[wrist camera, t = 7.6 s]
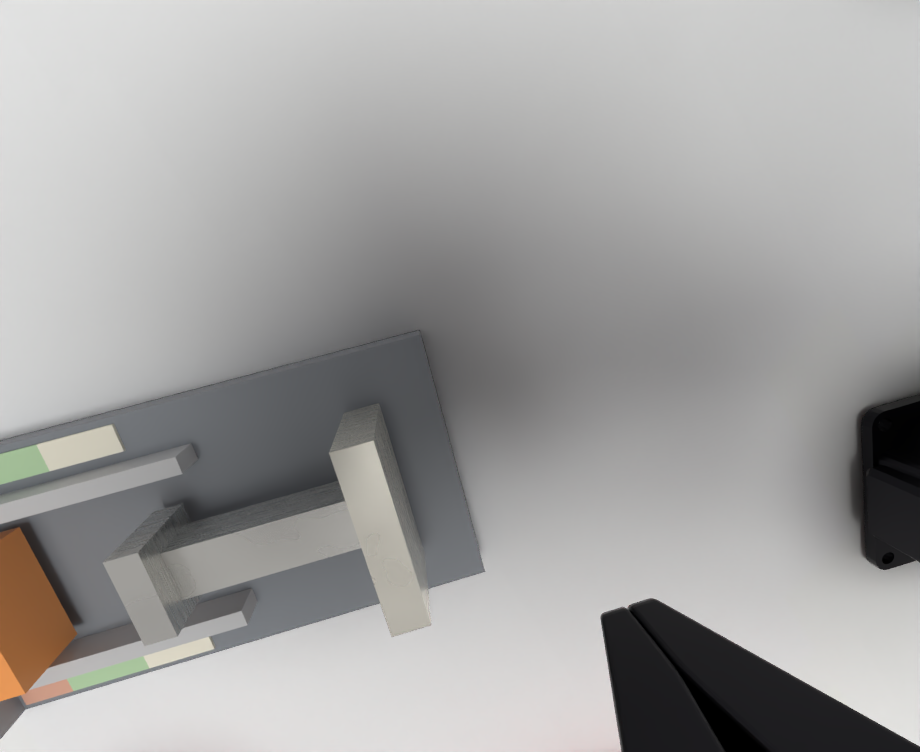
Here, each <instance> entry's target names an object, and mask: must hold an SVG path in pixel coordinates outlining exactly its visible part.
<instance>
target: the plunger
mask: <svg viewBox="0 0 920 752" xmlns="http://www.w3.org/2000/svg"><path fill="white" fill-rule="evenodd" d="M329 455H330V458H331V460H332V463H333V466H334V469H335V472H336V475H337V478H338V481H336V482H333V483H329V484H326V485H322V486H319V487H315V488H311V489H308V490H304V491H301V492H297V493H294V494H290V495H287V496H283V497H279V498H276V499H272V500H269V501H265V502H262V503H258V504H255V505H251V506H248V507H244V508H240V509H237V510H233V511H230V512H226V513H223V514H219V515H216V516H212V517H208V518H205V519H201V520H198V521H194V522H191V521H190V518H189V516H188V514H187V512H186V509H185V507H184V505H183V503H181V504H178V505H174V506H170V507H167V508H163V509H160V510H156V511H154V512H153V513H152V514H151V515H150V516H149V517H148V518H147V519H146V520H145V521H144V522H143V523H142V524H141V525H140V526H139V527H138V528H137V529H136V530H135V531H134V532H133V533H132V534H131V535H130V536H129V537H128V538H127V539H126V540H125V541H124V542H123V543H122V544H121V545H120V546H119V547H118V548H117V549H116V550H115V551H114V552H113V553H112V554H111V555H110V556H109V557H108V558H107V559H106V560H105V561H104V562H103V565H104V567H105V569H106V570H107V572H108V574H109V576H110V578H111V580H112V582H113V584H114V586H115V588H116V590H117V592H118V594H119V596H120V598H121V600H122V602H123V604H124V606H125V608H126V610H127V612H128V614H129V616H130V618H131V620H132V622H133V624H134V626H135V628H136V630H137V632H138V634H139V636H140V638H141V640H142V642H143V644H144V646H147V645H151V644H154V643H157V642H161V641H164V640H167V639H171V638H174V637H178V635H179V633H180V632H181V630H182V628H183V627H184V625H185V623H186V622H187V620H188V618H189V617H190V615H191V613H192V611H193V610H194V608H195V606H196V605H197V603H198V601H199V600H200V598H201V596H202V595H203V594H205V593H209V592H212V591H215V590H219V589H222V588H226V587H229V586H233V585H236V584H239V583H243V582H246V581H250V580H253V579H257V578H260V577H263V576H267V575H270V574H274V573H277V572H281V571H284V570H287V569H291V568H294V567H298V566H301V565H305V564H308V563H311V562H315V561H318V560H322V559H325V558H329V557H332V556H335V555H339V554H342V553H346V552H349V551H353V550H356V549H359V548H362V551H363V554H364V557H365V560H366V563H367V566H368V569H369V572H370V575H371V578H372V581H373V584H374V587H375V589H376V592H377V595H378V598H379V601H380V604H381V607H382V610H383V613H384V616H385V619H386V622H387V625H388V628H389V631H390V633H391V636H392V637H394V636H397V635H400V634H403V633H407V632H410V631H413V630H417V629H420V628H423V627H426V626H430V625H431V616H430V605H429V595H428V584H427V573H426V562H425V553H424V550H423V546H422V543H421V540H420V537H419V533H418V530H417V527H416V523H415V520H414V517H413V514H412V510H411V507H410V504H409V500H408V497H407V494H406V490H405V487H404V484H403V481H402V477H401V474H400V471H399V467H398V464H397V461H396V458H395V454H394V451H393V448H392V444H391V441H390V438H389V434H388V431H387V428H386V425H385V421H384V418H383V415H382V411H381V408H380V405H379V403H377V404H373V405H370V406H366V407H362V408H359V409H355V410H351V411H348V412H344V414H343V417H342V419H341V422H340V425H339V427H338V430H337V433H336V436H335V438H334V441H333V444H332V446H331V449H330V452H329Z"/></svg>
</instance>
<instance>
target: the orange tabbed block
mask: <svg viewBox="0 0 920 752" xmlns="http://www.w3.org/2000/svg"><path fill="white" fill-rule="evenodd" d="M76 635H77V632H76V630H75V629H74V627H73V625H72V623H71V621H70V619H69V618H68V616H67V614H66V612H65V610H64V608H63V606H62V605H61V603H60V601H59V599H58V597H57V595H56V594H55V592H54V590H53V588H52V586H51V584H50V582H49V581H48V579H47V577H46V575H45V573H44V571H43V570H42V568H41V566H40V564H39V562H38V560H37V558H36V557H35V555H34V553H33V551H32V549H31V547H30V545H29V544H28V542H27V540H26V538H25V536H24V534H23V533H22V531H21V529H20V527H17V528H14V529H10V530H6V531H3V532H0V701H3V700H6V699H10V698H13V697H16V696H20V695H23V694H26V693H27V691H28V690H29V689H30V688H31V687H32V686H33V685H34V683H35V682H36V681H37V680H38V679H39V678H40V677H41V675H42V674H43V673H44V672H45V671H46V670H47V669H48V667H49V666H50V665H51V664H52V663H53V662H54V660H55V659H56V658H57V657H58V656H59V655H60V654H61V652H62V651H63V650H64V649H65V648H66V647H67V646H68V644H69V643H70V642H71V641H72V640H73V639H74V637H75V636H76Z"/></svg>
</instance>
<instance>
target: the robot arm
mask: <svg viewBox="0 0 920 752" xmlns="http://www.w3.org/2000/svg"><path fill="white" fill-rule="evenodd" d="M879 422H880V423H879ZM861 430H862V458H863V486H864V514H865V542H866V558H867V560H868V561H869V562H870V563H871V564H873V565H875V566H876V567H878V568H879V569H882V570H887V569H891V568H894V567H897V566H900V565H903V564H907V563H910V562H913V561H918V562H920V394H919V395H916V396H913V397H909V398H906V399H902V400H899V401H896V402H892V403H889V404H885V405H882V406H878V407H875V408H872V409H870V410H869V411H868V412H867V413H866V414H865V415H864V417H863V419H862V423H861ZM601 624H602V631H603V637H604V643H605V650H606V656H607V662H608V669H609V675H610V681H611V688H612V694H613V701H614V707H615V713H616V720H617V726H618V732H619V739H620V745H621V752H920V747H919V746H918V745H916V744H914V743H912V742H910V741H909V740H907V739H905V738H903V737H901V736H900V735H898V734H896V733H894V732H893V731H891V730H889V729H887V728H885V727H884V726H882V725H880V724H878V723H876V722H875V721H873V720H871V719H869V718H868V717H866V716H864V715H862V714H860V713H859V712H857V711H855V710H853V709H851V708H850V707H848V706H846V705H844V704H843V703H841V702H839V701H837V700H835V699H834V698H832V697H830V696H828V695H826V694H825V693H823V692H821V691H819V690H818V689H816V688H814V687H812V686H810V685H809V684H807V683H805V682H803V681H801V680H800V679H798V678H796V677H794V676H792V675H791V674H789V673H787V672H785V671H784V670H782V669H780V668H778V667H776V666H775V665H773V664H771V663H769V662H767V661H766V660H764V659H762V658H760V657H759V656H757V655H755V654H753V653H751V652H750V651H748V650H746V649H744V648H742V647H741V646H739V645H737V644H735V643H734V642H732V641H730V640H728V639H726V638H725V637H723V636H721V635H719V634H717V633H716V632H714V631H712V630H710V629H708V628H707V627H705V626H703V625H701V624H700V623H698V622H696V621H694V620H692V619H691V618H689V617H687V616H685V615H683V614H682V613H680V612H678V611H676V610H675V609H673V608H671V607H669V606H667V605H666V604H664V603H662V602H660V601H658V600H656V599H653V598H650V599H646V600H643V601H640V602H637V603H633V604H631V605H629V607H628V609H627V608H625V607H621V608H617V609H614V610H611V611H608V612H605V613H603V614H602V615H601Z"/></svg>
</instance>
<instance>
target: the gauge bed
mask: <svg viewBox="0 0 920 752" xmlns="http://www.w3.org/2000/svg"><path fill="white" fill-rule="evenodd" d="M377 403H379V405H380V408H381V411H382V415H383V418H384V421H385V425H386V428H387V431H388V434H389V438H390V441H391V444H392V448H393V451H394V454H395V458H396V461H397V464H398V467H399V471H400V474H401V477H402V481H403V484H404V487H405V490H406V494H407V497H408V500H409V504H410V507H411V510H412V514H413V517H414V520H415V523H416V527H417V530H418V533H419V537H420V540H421V543H422V546H423V550H424V553H425V562H426V573H427V584H428V589H429V588H432V587H435V586H439V585H442V584H445V583H449V582H452V581H455V580H459V579H462V578H465V577H469V576H472V575H475V574H479V573H482V572H485V570H484V566H483V563H482V559H481V555H480V552H479V548H478V544H477V540H476V537H475V533H474V529H473V526H472V522H471V518H470V515H469V511H468V507H467V503H466V500H465V496H464V492H463V489H462V485H461V481H460V477H459V474H458V470H457V466H456V463H455V459H454V455H453V452H452V448H451V444H450V440H449V437H448V433H447V429H446V426H445V422H444V418H443V415H442V411H441V407H440V403H439V400H438V396H437V392H436V389H435V385H434V381H433V378H432V374H431V370H430V366H429V363H428V359H427V355H426V352H425V348H424V344H423V340H422V337H421V333H420V330H418V331H414V332H410V333H406V334H402V335H399V336H395V337H391V338H387V339H384V340H380V341H376V342H372V343H368V344H365V345H361V346H357V347H353V348H350V349H346V350H342V351H338V352H334V353H331V354H327V355H323V356H319V357H315V358H312V359H308V360H304V361H300V362H297V363H293V364H289V365H285V366H281V367H278V368H274V369H270V370H266V371H262V372H259V373H255V374H251V375H247V376H244V377H240V378H236V379H232V380H228V381H225V382H221V383H217V384H213V385H209V386H206V387H202V388H198V389H194V390H191V391H187V392H183V393H179V394H175V395H172V396H168V397H164V398H160V399H157V400H153V401H149V402H145V403H141V404H138V405H134V406H130V407H126V408H122V409H119V410H115V411H111V412H107V413H104V414H100V415H96V416H92V417H88V418H85V419H81V420H77V421H73V422H69V423H66V424H62V425H58V426H54V427H51V428H47V429H43V430H39V431H35V432H32V433H28V434H24V435H20V436H16V437H13V438H9V439H5V440H1V441H0V532H3V531H6V530H10V529H14V528H17V527H20V529H21V531H22V533H23V534H24V536H25V538H26V540H27V542H28V544H29V545H30V547H31V549H32V551H33V553H34V555H35V557H36V558H37V560H38V562H39V564H40V566H41V568H42V570H43V571H44V573H45V575H46V577H47V579H48V581H49V582H50V584H51V586H52V588H53V590H54V592H55V594H56V595H57V597H58V599H59V601H60V603H61V605H62V606H63V608H64V610H65V612H66V614H67V616H68V618H69V619H70V621H71V623H72V625H73V627H74V629H75V630H76V632H77V635H76V636H75V637H74V639H73V640H72V641H71V642H70V643H69V644H68V646H67V647H66V648H65V649H64V650H63V651H62V652H61V654H60V655H59V656H58V657H57V658H56V659H55V660H54V662H53V663H52V664H51V665H50V666H49V667H48V669H47V670H46V671H45V672H44V673H43V674H42V675H41V677H40V678H39V679H38V680H37V681H36V682H35V683H34V685H33V686H32V687H31V688H30V689H29V690H28V691H27V693H26V694H23V695H20V696H16V697H13V698H10V699H6V700H3V701H0V739H1V738H2V737H3V735H4V734H5V733H6V732H7V731H8V729H9V728H10V727H11V726H12V725H13V724H14V722H15V721H16V720H17V719H18V718H19V716H20V715H21V714H22V713H23V712H24V710H25V709H28V708H32V707H35V706H38V705H42V704H45V703H48V702H52V701H55V700H58V699H62V698H65V697H68V696H72V695H75V694H78V693H82V692H85V691H88V690H92V689H95V688H98V687H102V686H105V685H108V684H112V683H115V682H118V681H122V680H125V679H128V678H132V677H135V676H138V675H142V674H145V673H148V672H152V671H155V670H158V669H162V668H165V667H168V666H172V665H175V664H178V663H182V662H185V661H188V660H192V659H195V658H199V657H202V656H205V655H209V654H212V653H215V652H219V651H222V650H225V649H229V648H232V647H235V646H239V645H242V644H245V643H249V642H252V641H255V640H259V639H262V638H265V637H269V636H272V635H275V634H279V633H282V632H285V631H289V630H292V629H295V628H299V627H302V626H305V625H309V624H312V623H315V622H319V621H322V620H325V619H329V618H332V617H335V616H339V615H342V614H345V613H349V612H352V611H355V610H359V609H362V608H365V607H369V606H372V605H375V604H379V603H380V601H379V598H378V595H377V592H376V589H375V587H374V584H373V581H372V578H371V575H370V572H369V569H368V566H367V563H366V560H365V557H364V554H363V551H362V548H359V549H356V550H353V551H349V552H346V553H342V554H339V555H335V556H332V557H329V558H325V559H322V560H318V561H315V562H311V563H308V564H305V565H301V566H298V567H294V568H291V569H287V570H284V571H281V572H277V573H274V574H270V575H267V576H263V577H260V578H257V579H253V580H250V581H246V582H243V583H239V584H236V585H233V586H229V587H226V588H222V589H219V590H215V591H212V592H209V593H205V594H203V595H202V596H201V598H200V600H199V601H198V603H197V605H196V606H195V608H194V610H193V611H192V613H191V615H190V617H189V618H188V620H187V622H186V623H185V625H184V627H183V628H182V630H181V632H180V633H179V635H178V637H174V638H171V639H167V640H164V641H161V642H157V643H154V644H151V645H147V646H144V644H143V642H142V640H141V638H140V636H139V634H138V632H137V630H136V628H135V626H134V624H133V622H132V620H131V618H130V616H129V614H128V612H127V610H126V608H125V606H124V604H123V602H122V600H121V598H120V596H119V594H118V592H117V590H116V588H115V586H114V584H113V582H112V580H111V578H110V576H109V574H108V572H107V570H106V569H105V567H104V565H103V562H104V561H105V560H106V559H107V558H108V557H109V556H110V555H111V554H112V553H113V552H114V551H115V550H116V549H117V548H118V547H119V546H120V545H121V544H122V543H123V542H124V541H125V540H126V539H127V538H128V537H129V536H130V535H131V534H132V533H133V532H134V531H135V530H136V529H137V528H138V527H139V526H140V525H141V524H142V523H143V522H144V521H145V520H146V519H147V518H148V517H149V516H150V515H151V514H152V513H153V512H154V511H156V510H160V509H163V508H167V507H170V506H174V505H178V504H181V503H183V505H184V507H185V509H186V512H187V514H188V516H189V518H190V521H191V522H194V521H198V520H201V519H205V518H208V517H212V516H216V515H219V514H223V513H226V512H230V511H233V510H237V509H240V508H244V507H248V506H251V505H255V504H258V503H262V502H265V501H269V500H272V499H276V498H279V497H283V496H287V495H290V494H294V493H297V492H301V491H304V490H308V489H311V488H315V487H319V486H322V485H326V484H329V483H333V482H336V481H338V478H337V475H336V472H335V469H334V466H333V463H332V460H331V458H330V455H329V452H330V449H331V446H332V444H333V441H334V438H335V436H336V433H337V430H338V427H339V425H340V422H341V419H342V417H343V414H344V412H348V411H351V410H355V409H359V408H362V407H366V406H370V405H373V404H377Z"/></svg>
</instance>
